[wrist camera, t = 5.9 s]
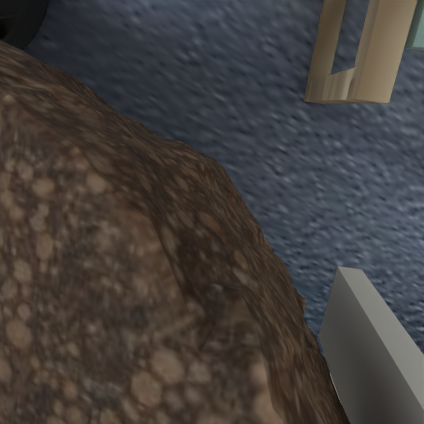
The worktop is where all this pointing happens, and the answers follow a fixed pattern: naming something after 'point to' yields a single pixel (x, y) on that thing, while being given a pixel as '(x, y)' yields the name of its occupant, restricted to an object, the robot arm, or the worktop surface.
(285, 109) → the worktop surface
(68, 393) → the rock
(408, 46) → the trapdoor
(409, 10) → the frame
